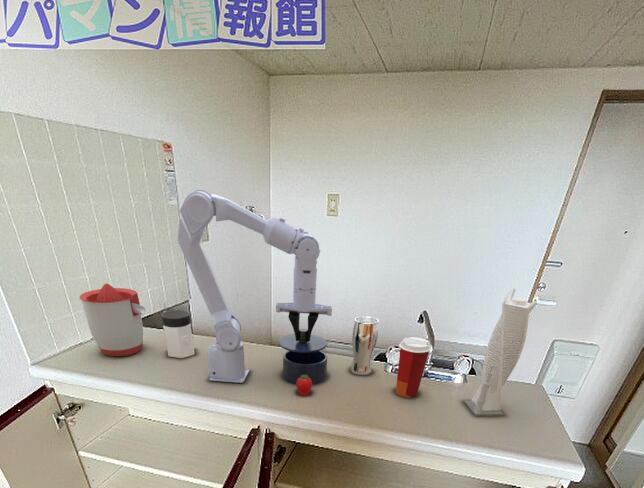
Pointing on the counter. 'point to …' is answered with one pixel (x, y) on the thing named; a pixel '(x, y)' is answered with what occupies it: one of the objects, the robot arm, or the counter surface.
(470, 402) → the skyscraper
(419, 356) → the paper cup
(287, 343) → the lid
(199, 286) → the robot arm
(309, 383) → the strawberry
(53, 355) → the counter surface
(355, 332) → the beer glass
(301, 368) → the pot
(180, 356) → the jar
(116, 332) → the citrus juicer
